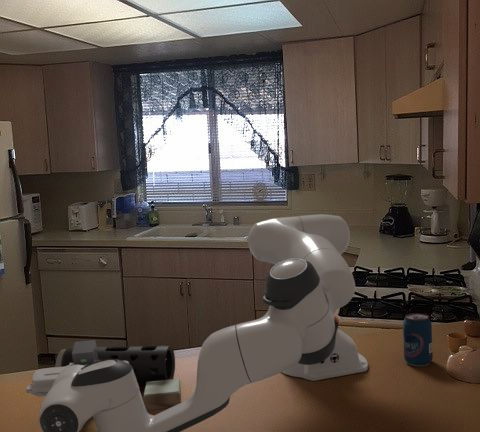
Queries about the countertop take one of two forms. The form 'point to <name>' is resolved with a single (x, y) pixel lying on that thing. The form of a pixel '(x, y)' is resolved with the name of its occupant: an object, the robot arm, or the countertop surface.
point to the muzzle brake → (134, 360)
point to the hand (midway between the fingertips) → (87, 364)
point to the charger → (84, 352)
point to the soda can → (417, 339)
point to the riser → (162, 394)
